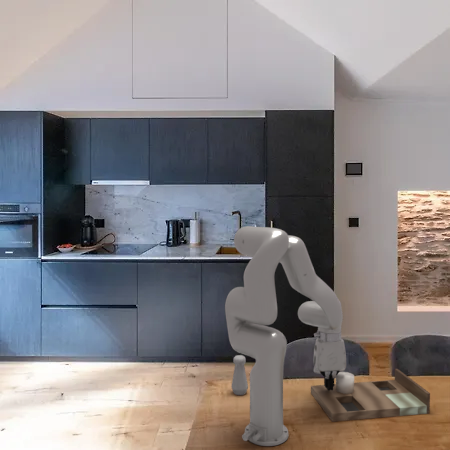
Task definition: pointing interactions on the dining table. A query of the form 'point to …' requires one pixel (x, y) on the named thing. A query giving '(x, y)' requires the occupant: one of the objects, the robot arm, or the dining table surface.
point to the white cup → (345, 382)
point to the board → (374, 399)
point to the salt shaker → (239, 376)
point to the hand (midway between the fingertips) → (329, 388)
